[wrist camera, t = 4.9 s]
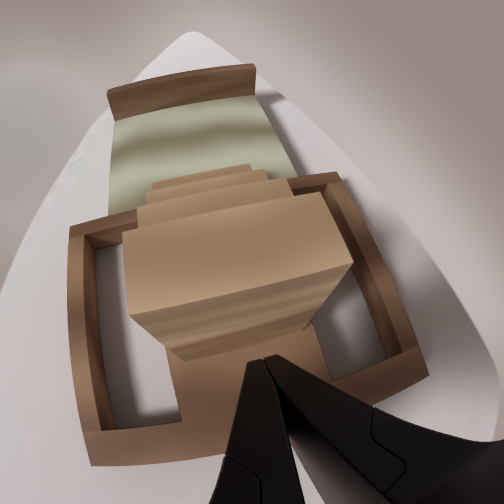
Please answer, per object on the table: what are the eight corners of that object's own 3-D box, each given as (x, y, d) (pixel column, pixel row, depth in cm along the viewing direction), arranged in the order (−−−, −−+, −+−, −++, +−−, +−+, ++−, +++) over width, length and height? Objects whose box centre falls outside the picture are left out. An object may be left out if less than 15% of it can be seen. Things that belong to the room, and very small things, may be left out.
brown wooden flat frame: (412, 379, 15) (461, 366, 11) (106, 461, 12) (62, 474, 8) (279, 103, 28) (284, 62, 23) (92, 139, 25) (77, 99, 20)
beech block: (299, 332, 15) (353, 262, 8) (184, 361, 14) (128, 315, 7) (248, 184, 19) (254, 77, 12) (158, 203, 18) (126, 99, 11)
